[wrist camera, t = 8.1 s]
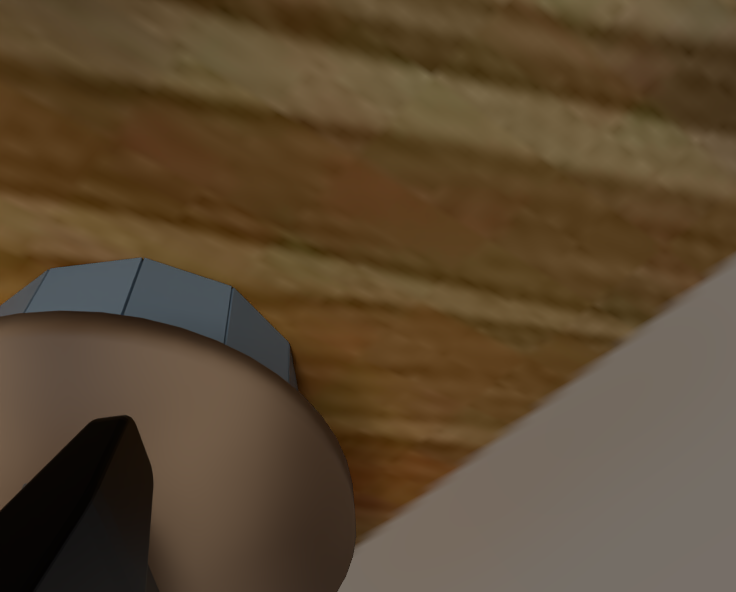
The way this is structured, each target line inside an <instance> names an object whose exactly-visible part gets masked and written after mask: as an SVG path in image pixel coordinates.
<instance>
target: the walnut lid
mask: <svg viewBox="0 0 736 592" xmlns="http://www.w3.org/2000/svg"><path fill="white" fill-rule="evenodd" d="M119 415H127V416H130V417H132V419H133V420H134V421H135V423H136V425H137V428H138V430H139V433H140V436H141V439H142V441H143V444H144V447H145V450H146V452H147V455H148V458H149V460H150V463H151V466H152V471H153V480H154V487H153V501H152V514H151V527H150V541H149V554H148V567H147V580H146V592H337V591H338V589H339V587H340V586H341V584H342V582H343V580H344V579H345V577H346V574H347V572H348V569H349V566H350V563H351V560H352V558H353V553H354V546H355V539H356V523H355V507H354V496H353V485H352V480H351V476H350V472H349V468H348V464H347V460H346V458H345V456H344V453H343V451H342V449H341V447H340V445H339V442H338V440H337V438H336V437H335V435H334V434H333V432H332V431H331V429H330V428H329V426H328V425H327V423H326V421H325V420H324V418H323V417H322V416H321V415H320V414H319V412H318V411H317V410H316V409H315V408H314V407H313V406H312V405H311V404H310V403H309V401H308V400H307V399H306V398H305V397H304V396H303V395H302V394H301V393H300V392H298V391H297V390H296V389H295V388H294V387H292V386H291V385H290V384H289V383H288V382H286V381H285V380H284V379H283V378H282V377H280V376H279V375H278V374H276V373H275V372H273V371H272V370H270V369H269V368H267V367H265V366H264V365H262V364H261V363H259V362H258V361H256V360H255V359H253V358H251V357H250V356H248V355H246V354H244V353H242V352H240V351H238V350H236V349H233V348H231V347H229V346H227V345H225V344H223V343H221V342H219V341H217V340H214V339H212V338H209V337H206V336H203V335H200V334H198V333H195V332H192V331H189V330H187V329H184V328H181V327H177V326H173V325H169V324H165V323H161V322H157V321H153V320H149V319H145V318H140V317H133V316H126V315H119V314H112V313H104V312H87V311H61V310H59V311H45V312H30V313H18V314H12V315H6V316H1V317H0V510H1V509H2V508H3V507H4V506H5V505H6V504H7V503H8V502H9V501H10V500H11V499H12V498H13V497H14V496H15V495H16V494H17V493H18V492H19V491H20V490H21V489H22V488H23V487H24V486H25V485H26V484H27V483H28V482H29V481H30V480H31V479H32V478H33V477H34V476H35V475H36V474H37V473H38V472H39V471H40V470H41V469H42V468H43V467H44V466H45V465H46V464H47V463H48V462H50V461H51V460H52V459H53V458H54V457H55V456H56V455H57V454H58V453H59V452H60V451H61V450H62V449H63V448H64V447H65V446H66V445H67V444H68V443H69V442H70V441H71V440H72V439H73V438H74V437H75V436H76V435H77V434H78V433H79V432H80V431H81V430H82V429H83V428H84V427H85V426H86V425H87V424H88V423H89V422H91V421H92V420H94V419H97V418H103V417H111V416H119Z"/></svg>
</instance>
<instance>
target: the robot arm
mask: <svg viewBox="0 0 736 592" xmlns="http://www.w3.org/2000/svg"><path fill="white" fill-rule="evenodd" d="M153 487H154V480H153V471H152V466H151V463H150V460H149V458H148V455H147V452H146V450H145V447H144V444H143V441H142V439H141V436H140V433H139V430H138V428H137V425H136V423H135V421H134V420H133V419H132V417H130V416H127V415H119V416H111V417H103V418H97V419H94V420H92V421H91V422H89V423H88V424H87V425H86V426H85V427H84V428H83V429H82V430H81V431H80V432H79V433H78V434H77V435H76V436H75V437H74V438H73V439H72V440H71V441H70V442H69V443H68V444H67V445H66V446H65V447H64V448H63V449H62V450H61V451H60V452H59V453H58V454H57V455H56V456H55V457H54V458H53V459H52V460H51V461H50V462H48V463H47V464H46V465H45V466H44V467H43V468H42V469H41V470H40V471H39V472H38V473H37V474H36V475H35V476H34V477H33V478H32V479H31V480H30V481H29V482H28V483H27V484H26V485H25V486H24V487H23V488H22V489H21V490H20V491H19V492H18V493H17V494H16V495H15V496H14V497H13V498H12V499H11V500H10V501H9V502H8V503H7V504H6V505H5V506H4V507H3V508H2V509H1V510H0V592H146V580H147V567H148V554H149V541H150V527H151V514H152V501H153Z"/></svg>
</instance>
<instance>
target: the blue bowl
mask: <svg viewBox="0 0 736 592" xmlns="http://www.w3.org/2000/svg"><path fill="white" fill-rule="evenodd" d="M231 287H232V286H229V285H226V284H223V283H220V282H217V281H214V280H211V279H208V278H205V277H202V276H199V275H195V274H192V273H189V272H186V271H183V270H180V269H177V268H174V267H171V266H168V265H165V264H162V263H159V262H156V261H153V260H150V259H147V258H144V260H142V258H134V259H125V260H117V261H109V262H101V263H92V264H84V265H76V266H68V267H59V268H51V269H50V270H47V271H45V272H44V273H43V274H42V275H40V276H39V277H38V278H36V279H35V280H34V281H32V282H31V283H30V284H28V285H27V286H26V287H24V288H23V289H22V290H20V291H19V292H18V293H17V294H15V295H14V296H13V297H11V298H10V299H9V300H7V301H6V302H5V303H3V304H2V305H1V306H0V317H1V316H6V315H12V314H18V313H30V312H45V311H59V310H61V311H87V312H104V313H112V314H119V315H126V316H133V317H140V318H145V319H149V320H153V321H157V322H161V323H165V324H169V325H173V326H177V327H181V328H184V329H187V330H189V331H192V332H195V333H198V334H200V335H203V336H206V337H209V338H212V339H214V340H217V341H219V342H221V343H223V344H225V345H227V346H229V347H231V348H233V349H236V350H238V351H240V352H242V353H244V354H246V355H248V356H250V357H251V358H253V359H255V360H256V361H258V362H259V363H261V364H262V365H264V366H265V367H267V368H269V369H270V370H272V371H273V372H275V373H276V374H278V375H279V376H280V377H282V378H283V379H284V380H285V381H286V382H288V383H289V384H290V385H291V386H292V387H294V388H295V389H296V390H297V391H298V386H297V381H296V376H295V371H294V365H293V360H292V355H291V349H290V344H289V342H288V341H287V340H286V339H285V338H284V337H283V336H282V335H281V334H280V333H279V332H278V331H277V330H276V329H275V328H274V327H273V326H272V325H271V324H270V323H269V322H268V321H267V320H266V319H265V318H264V317H263V316H262V315H261V314H260V313H259V312H258V311H257V310H256V309H255V308H254V307H253V306H252V305H251V304H250V303H249V302H248V301H247V300H246V299H245V298H244V297H243V296H242V295H241V294H240V293H239V292H238V291H237V290H236V289H235V288H232V289H231Z"/></svg>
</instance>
